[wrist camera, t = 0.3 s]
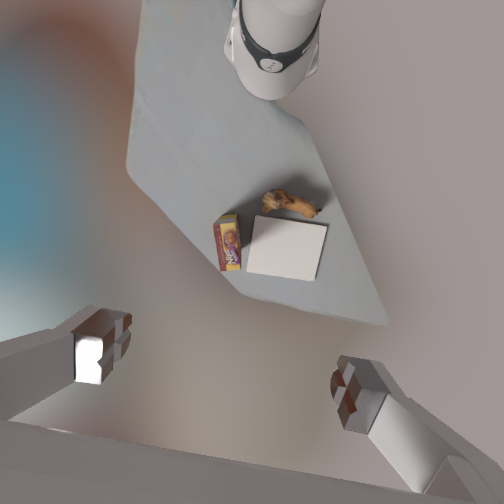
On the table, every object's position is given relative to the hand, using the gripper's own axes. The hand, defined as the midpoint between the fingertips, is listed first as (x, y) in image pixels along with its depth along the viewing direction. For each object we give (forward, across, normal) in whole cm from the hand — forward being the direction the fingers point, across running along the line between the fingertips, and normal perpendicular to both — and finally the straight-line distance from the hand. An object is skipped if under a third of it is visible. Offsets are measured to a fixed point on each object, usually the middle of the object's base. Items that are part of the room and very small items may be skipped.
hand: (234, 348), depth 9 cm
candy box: (+47, +4, +6) cm, 48 cm away
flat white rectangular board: (+48, -10, +7) cm, 49 cm away
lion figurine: (+48, -8, -3) cm, 49 cm away
